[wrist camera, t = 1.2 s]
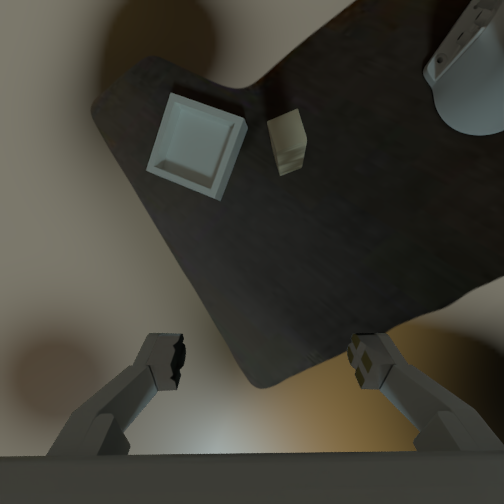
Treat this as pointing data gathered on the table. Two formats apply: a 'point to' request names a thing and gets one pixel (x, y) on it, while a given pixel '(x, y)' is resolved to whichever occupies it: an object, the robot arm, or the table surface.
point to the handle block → (288, 141)
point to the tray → (197, 146)
